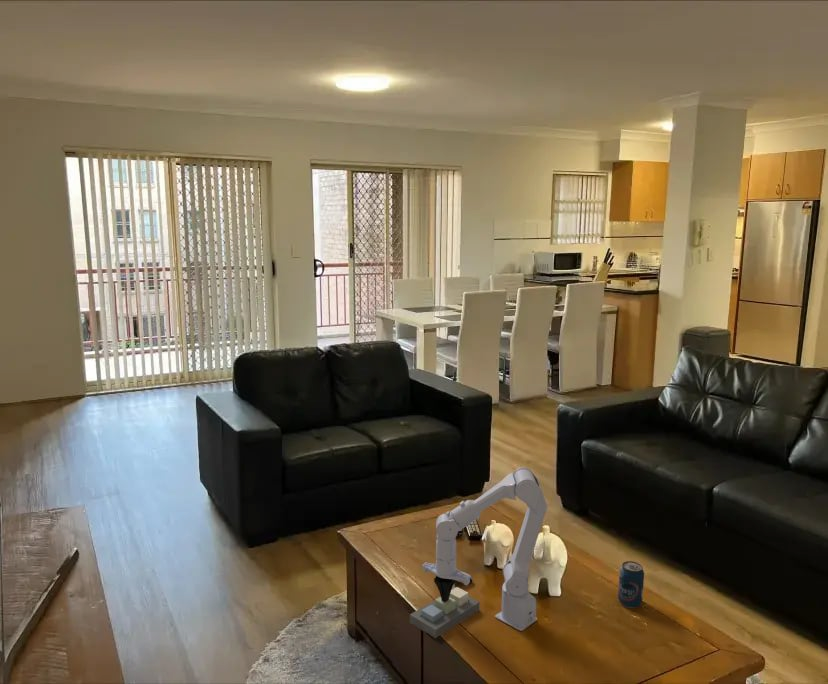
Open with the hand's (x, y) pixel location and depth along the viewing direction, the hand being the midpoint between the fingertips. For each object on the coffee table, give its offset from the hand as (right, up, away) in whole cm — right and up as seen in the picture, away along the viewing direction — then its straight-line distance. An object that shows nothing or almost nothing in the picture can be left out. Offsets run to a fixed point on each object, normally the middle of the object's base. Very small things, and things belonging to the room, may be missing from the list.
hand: (445, 599), depth 193 cm
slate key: (-4, -5, -3) cm, 7 cm away
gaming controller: (+4, -3, +17) cm, 18 cm away
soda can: (+56, -4, +8) cm, 57 cm away
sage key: (0, -3, +1) cm, 4 cm away
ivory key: (+4, -3, +5) cm, 7 cm away
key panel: (0, -5, +1) cm, 5 cm away
